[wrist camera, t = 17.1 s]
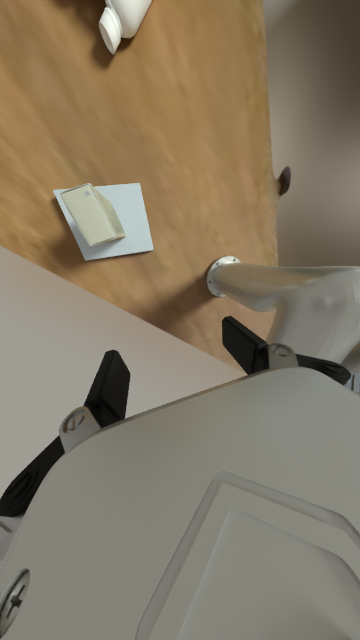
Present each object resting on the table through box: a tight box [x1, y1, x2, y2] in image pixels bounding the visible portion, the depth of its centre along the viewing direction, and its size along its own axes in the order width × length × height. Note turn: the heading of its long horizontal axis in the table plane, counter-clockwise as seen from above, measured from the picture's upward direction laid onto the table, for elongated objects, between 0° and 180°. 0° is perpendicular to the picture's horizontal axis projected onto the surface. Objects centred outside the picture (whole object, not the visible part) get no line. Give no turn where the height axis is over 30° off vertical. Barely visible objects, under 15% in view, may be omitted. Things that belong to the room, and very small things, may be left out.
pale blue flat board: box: [53, 183, 154, 261], centre depth 29 cm, size 16×12×3 cm
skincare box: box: [59, 183, 126, 246], centre depth 22 cm, size 6×4×12 cm
